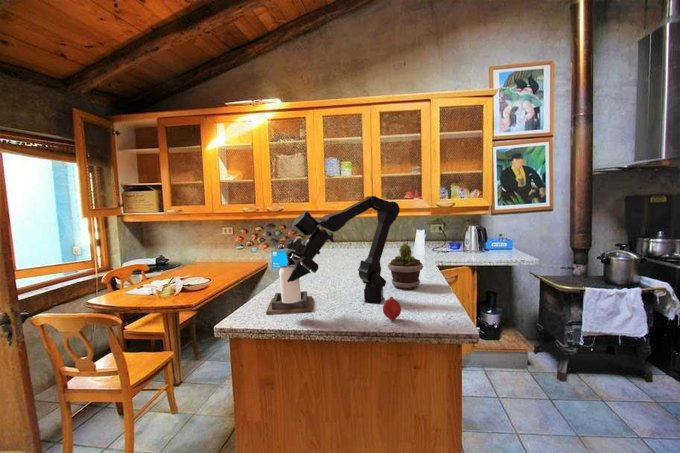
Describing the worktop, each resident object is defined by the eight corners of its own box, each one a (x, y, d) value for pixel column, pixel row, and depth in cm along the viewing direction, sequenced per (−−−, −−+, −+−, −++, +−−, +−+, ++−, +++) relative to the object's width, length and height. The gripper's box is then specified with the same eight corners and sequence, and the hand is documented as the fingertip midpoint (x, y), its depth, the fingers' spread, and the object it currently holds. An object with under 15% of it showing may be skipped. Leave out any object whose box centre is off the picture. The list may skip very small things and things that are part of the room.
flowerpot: (421, 292, 135) (420, 244, 134) (385, 290, 141) (383, 244, 139) (425, 283, 149) (424, 239, 147) (391, 281, 154) (390, 239, 152)
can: (297, 303, 107) (294, 266, 108) (279, 304, 109) (275, 268, 109) (303, 298, 114) (300, 264, 114) (286, 299, 115) (283, 265, 115)
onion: (381, 317, 109) (380, 294, 109) (398, 316, 110) (397, 293, 109) (385, 324, 104) (384, 299, 103) (403, 323, 104) (402, 298, 103)
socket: (312, 298, 134) (311, 289, 134) (311, 311, 118) (311, 302, 118) (272, 300, 133) (271, 292, 132) (266, 314, 117) (265, 304, 117)
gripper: (289, 227, 120) (261, 261, 116) (307, 231, 103) (275, 271, 100) (310, 246, 124) (284, 279, 121) (331, 253, 108) (301, 292, 104)
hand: (285, 280), depth 111 cm, fingers closed on can, 6 cm apart
